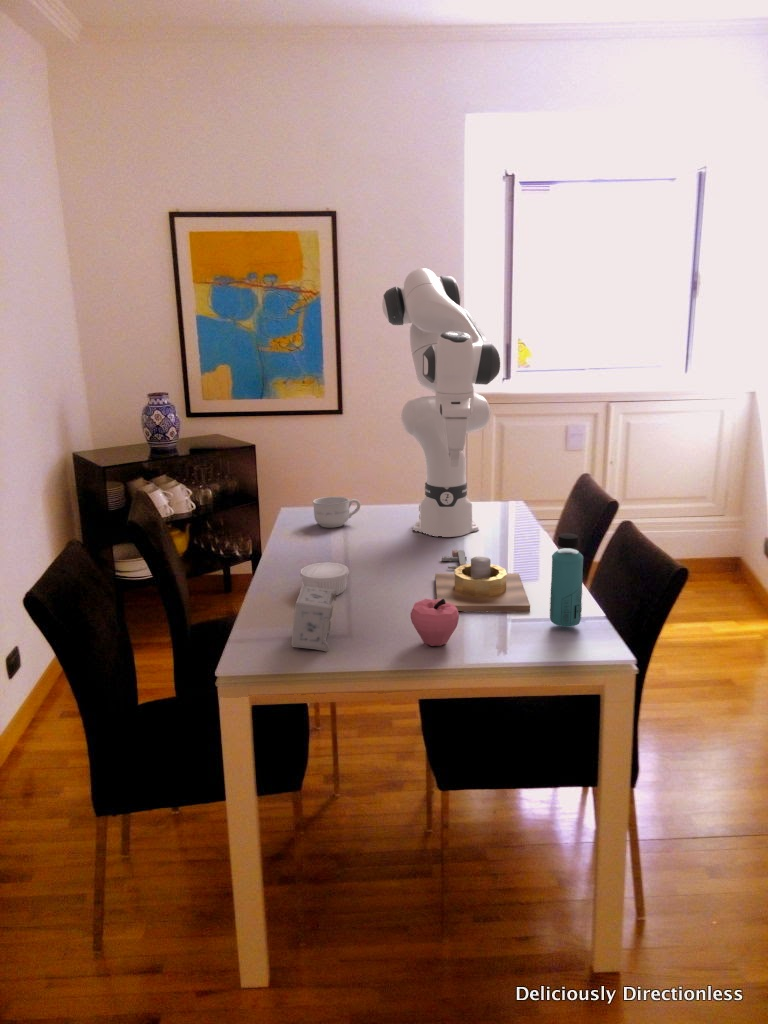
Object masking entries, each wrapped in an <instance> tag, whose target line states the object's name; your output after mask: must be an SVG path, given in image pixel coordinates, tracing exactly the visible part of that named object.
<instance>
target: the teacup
mask: <svg viewBox="0 0 768 1024" xmlns="http://www.w3.org/2000/svg"><path fill="white" fill-rule="evenodd" d="M312 503H313V504H312V505H313V515H314V520H315V522H316V523H317V524H319V525H320V526H321V527H322V528H326V529H327V528H338V527H339V528H340V527H342V526H344V525H345V524H346V523H347V522H348V520H349V519H351V518H352V516H354V515H355V514H357V513H358V512H359V511H360V510H361V509H360V508H361V502H360V501H359V500H358V499H356V498H352V499H349V498H348V497H345V496H325V497H319V498H315V499H314V500H312ZM353 503H355V504H356V507H355V509H354V510H352V511H351V512H350V508H351V506H352V504H353Z"/></svg>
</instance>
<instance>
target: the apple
mask: <svg viewBox="0 0 768 1024" xmlns="http://www.w3.org/2000/svg"><path fill="white" fill-rule="evenodd" d="M410 619H411V624H412V625H413V627H414V628H415V631H416V633H417V634H418V635H419V636H420V638H421V640H422V642H423V643H424V644H425V645H428V646H431V647H435V646H437V647H439V646H443V645H446V644H447V643H448V642H449V640H450V638H451V636H452V635H453V634H454V632H455V631H456V629H457V627H458V624H459V619H460V612H458V610H457V608H456V607H455V605H454V604H452V603H448V602H445V600H444V599H442V600H441V599H437V598H436V599H431V598H424V599H421V600H418V601H417V602H415V603H414V604H413V607H412V608H411V611H410Z"/></svg>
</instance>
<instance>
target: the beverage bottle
mask: <svg viewBox="0 0 768 1024" xmlns="http://www.w3.org/2000/svg"><path fill="white" fill-rule="evenodd" d="M557 538H558V539H557V540H558V541H557V546H559V549H557V550H556V551H555V552H553V554H552V555H551V581H550V597H549V619H550V621H551V623H553V624H554V625H556V626H560V627H575V626H577V625H579V624H580V623H581V620H582V614H583V613H582V608H583V605H582V601H583V582H584V581H583V578H584V577H583V575H584V574H583V568H584V555H583V554H582V553H581V552H580V551H579V550H578V549H575V548H578V547H579V536H578V535H577V534H574V533H572V532H571V533H568V532H567V533H565V532H564V533H560V534H559V535H558V537H557Z"/></svg>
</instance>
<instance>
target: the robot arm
mask: <svg viewBox="0 0 768 1024" xmlns="http://www.w3.org/2000/svg"><path fill="white" fill-rule="evenodd" d="M461 301H462V291H461V288H460V286H459V284H458V282H457V281H456V278H454V277H453V276H451V275H440V277H439V276H437V275H436V274H435V272H434V271H432V270H431V269H429V268H425V267H422V268H416V269H414V270H411V271H410V273H408V275H406V277H405V280H404V282H403V284H402V285H400V286H399V285H398V286H393V287H391V288H389V289H387V290H386V291H385V292H384V294H383V298H382V313H383V314H384V316H385V318H386V319H387V321H388V323H390V324H391V325H392V326H404V324H411V325H410V327H409V342H410V349H411V350H410V351H411V356H412V360H413V364H414V368H415V374H416V378H417V382H418V383H419V384H420V385H421V386H422V387H423V388H424V389H427V390H429V391H432V393H434V394H435V395H431V396H429V395H427V396H420V397H417V398H414V399H411V400H408V401H406V403H405V404H404V406H403V408H402V409H401V416H400V419H401V423H402V426H403V429H404V431H406V433H408V434H409V435H410V436H411V437H413V438H414V439H415V440H416V441H417V443H418V444H419V445H420V447H421V448H422V451H423V454H424V459H425V467H426V469H425V470H426V473H425V474H426V481H425V483H424V495H425V497H424V498H423V500H422V501H421V502H420V503H419V504H418V512H419V515H418V519H417V521H416V522H415V523H414V525H413V528H412V531H413V530H415V531H414V532H417V531H422V532H424V533H423V534H425V533H427V534H429V535H428V536H431V535H434V537H438V536H442V537H441V538H451V537H453V538H454V537H461V536H465V535H468V534H469V533H473V532H478V531H479V526H478V525H477V523H475V522H474V520H473V502H472V501H471V500H470V499H469V498H468V497H467V496H468V483H467V482H466V474H467V473H466V468H467V467H466V466H467V465H466V462H467V461H466V460H467V459H466V456H465V455H464V453H463V452H464V449H465V445H466V437H467V434H470V433H475V432H477V431H481V430H484V429H485V428H486V427H487V425H488V424H489V422H490V419H491V413H492V412H491V407H490V404H489V402H488V401H487V399H486V398H485V397H484V396H483V395H481V394H479V393H478V392H475V391H474V390H475V389H474V385H473V384H475V385H489V384H490V383H491V382H492V381H494V379H496V377H497V376H498V375H499V373H500V370H501V359H500V354H499V351H498V349H497V348H496V346H494V345H493V343H491V342H490V341H489V340H488V339H487V337H486V336H485V334H484V333H483V332H482V330H481V328H480V327H479V326H478V324H477V323H476V321H475V320H474V318H473V316H472V315H471V314H470V312H469V311H468V310H467V309H465V308H464V307H463V306H461ZM422 532H421V533H422ZM427 534H426V535H427Z"/></svg>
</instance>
